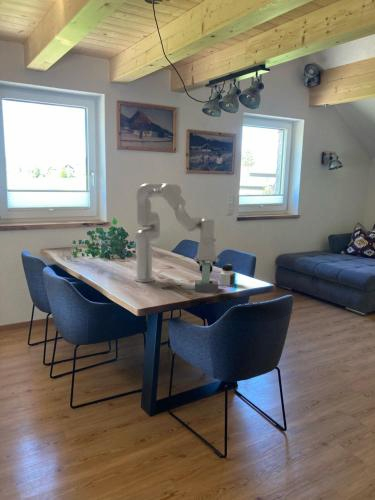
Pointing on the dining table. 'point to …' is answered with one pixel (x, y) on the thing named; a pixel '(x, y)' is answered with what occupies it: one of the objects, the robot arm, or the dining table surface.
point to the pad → (188, 287)
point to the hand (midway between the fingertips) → (205, 272)
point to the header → (206, 286)
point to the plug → (205, 273)
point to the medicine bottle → (227, 275)
